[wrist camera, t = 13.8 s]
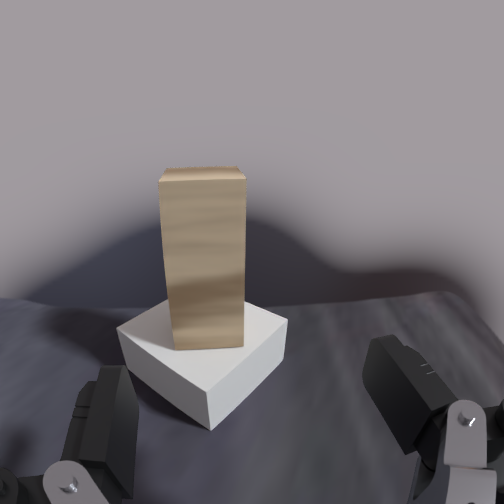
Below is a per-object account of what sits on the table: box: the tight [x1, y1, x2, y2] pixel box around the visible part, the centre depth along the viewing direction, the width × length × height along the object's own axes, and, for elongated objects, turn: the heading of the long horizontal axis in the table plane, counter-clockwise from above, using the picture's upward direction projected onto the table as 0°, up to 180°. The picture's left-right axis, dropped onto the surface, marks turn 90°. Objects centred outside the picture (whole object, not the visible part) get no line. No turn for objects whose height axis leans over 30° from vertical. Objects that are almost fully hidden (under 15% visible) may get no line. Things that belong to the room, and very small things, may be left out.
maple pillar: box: [159, 166, 247, 350], centre depth 22 cm, size 5×5×12 cm
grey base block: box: [116, 300, 288, 431], centre depth 26 cm, size 10×10×5 cm
